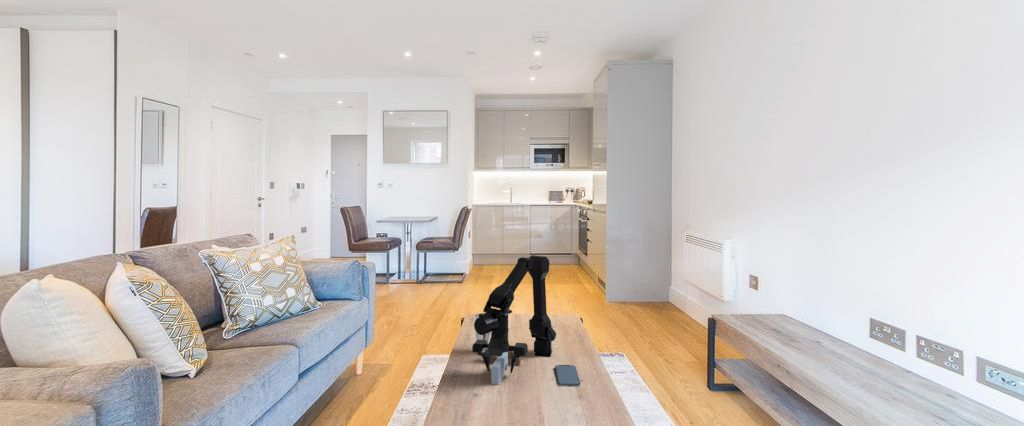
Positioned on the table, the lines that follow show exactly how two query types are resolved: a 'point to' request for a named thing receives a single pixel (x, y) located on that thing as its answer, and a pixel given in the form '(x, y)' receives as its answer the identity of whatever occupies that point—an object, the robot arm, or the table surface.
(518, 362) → the tan wooden plank
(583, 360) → the table surface
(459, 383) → the table surface
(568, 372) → the smartphone
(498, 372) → the pale blue upright post
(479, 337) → the beer glass
